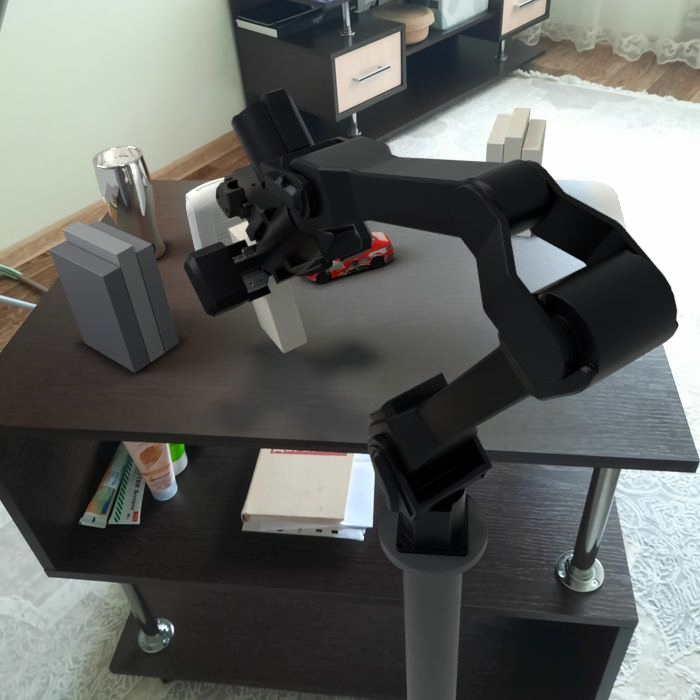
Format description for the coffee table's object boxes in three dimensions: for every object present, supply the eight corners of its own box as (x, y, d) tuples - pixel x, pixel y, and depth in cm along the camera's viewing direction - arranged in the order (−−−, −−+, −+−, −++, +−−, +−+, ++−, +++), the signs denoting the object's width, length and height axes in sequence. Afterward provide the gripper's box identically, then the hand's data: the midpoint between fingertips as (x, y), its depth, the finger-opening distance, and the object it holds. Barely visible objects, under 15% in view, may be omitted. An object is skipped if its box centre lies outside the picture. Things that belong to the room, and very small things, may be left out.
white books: (530, 237, 102) (540, 138, 93) (481, 233, 104) (487, 135, 95) (537, 203, 110) (547, 108, 100) (492, 199, 111) (497, 106, 102)
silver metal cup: (178, 245, 107) (154, 149, 97) (147, 270, 102) (119, 171, 93) (142, 236, 110) (115, 141, 100) (110, 259, 105) (79, 162, 96)
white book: (307, 342, 81) (278, 240, 73) (283, 354, 80) (251, 252, 72) (283, 315, 86) (253, 217, 78) (260, 326, 85) (227, 228, 78)
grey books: (179, 343, 89) (150, 236, 79) (135, 373, 85) (98, 264, 75) (128, 315, 94) (94, 212, 85) (84, 343, 90) (44, 238, 81)
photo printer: (263, 243, 106) (250, 164, 98) (274, 257, 103) (261, 176, 95) (195, 264, 103) (176, 184, 95) (204, 279, 100) (185, 197, 92)
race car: (307, 289, 96) (303, 263, 94) (294, 268, 100) (291, 243, 98) (399, 264, 99) (398, 238, 97) (383, 245, 103) (382, 220, 101)
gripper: (349, 119, 69) (302, 185, 84) (167, 178, 62) (150, 240, 76) (401, 223, 69) (345, 272, 83) (225, 296, 62) (197, 336, 76)
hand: (262, 277), depth 80 cm, fingers closed on white book, 3 cm apart
